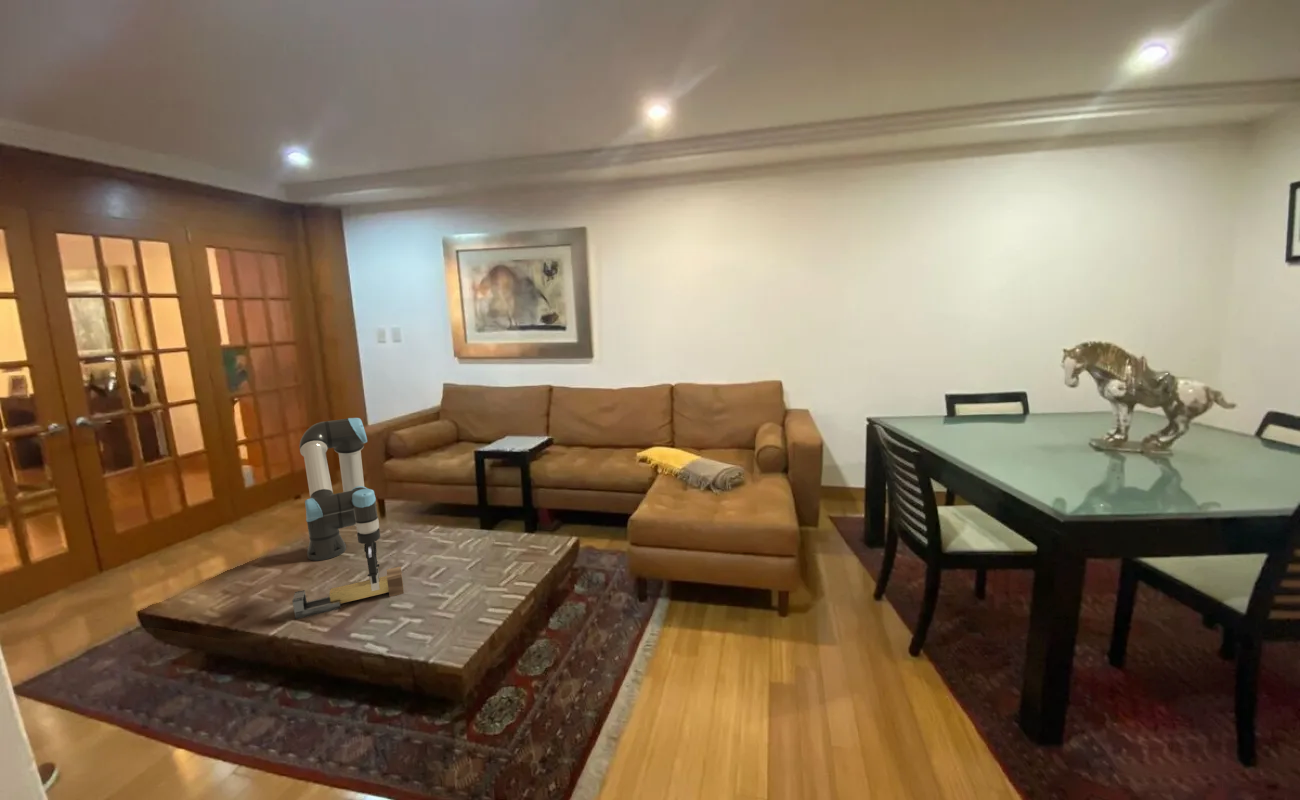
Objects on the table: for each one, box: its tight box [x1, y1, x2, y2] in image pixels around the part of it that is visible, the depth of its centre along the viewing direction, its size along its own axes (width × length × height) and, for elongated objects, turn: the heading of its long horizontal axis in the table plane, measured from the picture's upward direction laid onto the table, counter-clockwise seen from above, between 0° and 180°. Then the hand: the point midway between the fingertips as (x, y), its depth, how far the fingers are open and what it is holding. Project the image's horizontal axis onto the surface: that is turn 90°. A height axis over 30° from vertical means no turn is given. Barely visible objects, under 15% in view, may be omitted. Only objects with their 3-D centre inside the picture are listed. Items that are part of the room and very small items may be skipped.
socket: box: [386, 565, 405, 598], centre depth 205 cm, size 7×5×8 cm
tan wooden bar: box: [329, 567, 389, 605], centre depth 200 cm, size 4×22×9 cm, turn 116°
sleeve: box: [291, 589, 342, 620], centre depth 194 cm, size 6×14×7 cm, turn 116°
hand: (375, 586), depth 202 cm, fingers closed on tan wooden bar, 4 cm apart
